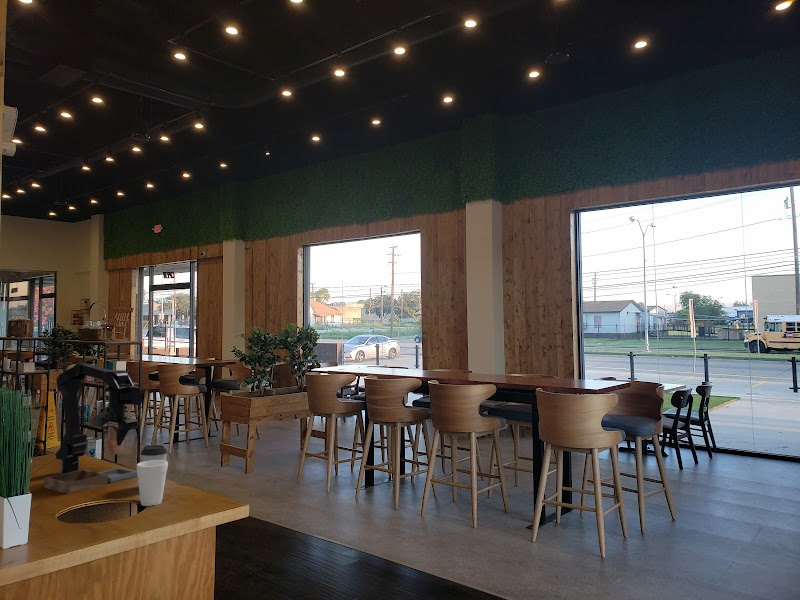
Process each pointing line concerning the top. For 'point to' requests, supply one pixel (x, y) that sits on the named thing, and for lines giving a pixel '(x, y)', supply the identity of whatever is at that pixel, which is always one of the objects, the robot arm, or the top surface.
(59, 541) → the top surface
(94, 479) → the brown square tray
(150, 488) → the foam cup
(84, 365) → the robot arm
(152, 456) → the coffee cup
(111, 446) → the terracotta peg
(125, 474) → the grey rectangular bin
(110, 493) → the top surface
